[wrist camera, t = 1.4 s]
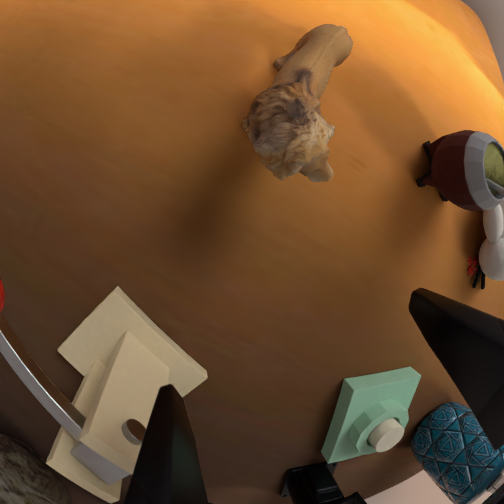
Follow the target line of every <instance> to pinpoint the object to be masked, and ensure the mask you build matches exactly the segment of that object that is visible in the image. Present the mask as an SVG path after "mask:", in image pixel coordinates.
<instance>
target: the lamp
mask: <svg viewBox="0 0 504 504" xmlns="http://www.w3.org/2000/svg"><path fill="white" fill-rule="evenodd" d="M411 449H412V452H413V454H414V456H415V458H416V459H417V461H418V462H419V463H420V465H421V466H422V467H423V469H424V470H425V471H426V472H427V474H428V475H429V476H430V477H431V479H432V480H433V481H434V482H435V483H436V485H437V486H438V487H439V488H440V489H441V490H442V492H443V493H444V494H445V495H446V496H447V497H448V498H449V499H450V500H451V501H452V502H453V503H454V504H471V503H473V502H474V501H476V500H477V499H478V498H479V497H480V496H482V495H483V494H484V493H485V492H489V491H490V492H491V493H492V494H493V493H494V492H495V491H496V490H497V489H498V488H499V487H500V486H501V485H502V484H503V483H504V477H503V476H504V474H503V473H504V445H503V446H502V447H500V448H499V449H498V450H496V451H495V450H494V449H493V447H492V445H491V444H490V442H489V440H488V438H487V436H486V435H485V433H484V431H483V429H482V428H481V426H480V424H479V422H478V421H477V419H476V417H475V415H474V414H473V412H472V410H471V409H470V408H468V407H466V406H464V405H463V404H460V403H458V402H447V403H444V404H442V405H440V406H438V407H437V408H435V409H434V410H433V411H432V412H431V413H429V414H428V415H427V416H426V417H425V419H424V420H423V421H422V422H421V423H420V424H419V426H418V427H417V429H416V430H415V432H414V434H413V436H412V439H411Z"/></svg>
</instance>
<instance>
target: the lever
mask: <svg viewBox="0 0 504 504" xmlns="http://www.w3.org/2000/svg"><path fill="white" fill-rule="evenodd" d="M4 301H5V293H4V287H3V284H2V281H1V279H0V352H1V353H2V355H3V356H4V358H5V359H6V360H7V362H8V363H9V365H10V366H11V367H12V369H13V370H14V371H15V373H16V374H17V375H18V377H19V378H20V379H21V380H22V382H23V383H24V384H25V385H26V387H27V388H28V389H29V390H30V391H31V393H32V394H33V395H34V396H35V397H36V399H37V400H38V401H39V402H40V403H41V404H42V405H43V406H44V408H45V409H46V410H47V411H48V412H49V413H50V414H51V415H52V416H53V417H54V418H55V419H56V420H57V421H58V422H59V424H60V425H61V426H62V427H63V428H64V429H65V430H66V431H68V432H69V433H70V434H71V435H72V436H73V437H74V438H75V439H76V440H77V442H76V443H75V444H74V446H73V447H72V449H71V450H70V454H72V455H73V456H74V457H75V458H76V459H77V460H78V461H80V462H81V463H82V464H83V465H84V466H85V467H87V468H88V469H89V470H90V471H91V472H93V473H94V474H95V475H96V476H98V477H99V478H100V479H102V480H103V481H104V482H106V483H107V484H108V485H110V484H112V483H114V482H116V481H118V480H120V479H122V478H124V477H126V476H128V475H130V473H128V472H127V471H125V470H123V469H122V468H120V467H118V466H117V465H115V464H114V463H112V462H110V461H109V460H107V459H106V458H104V457H103V456H101V455H100V454H98V453H97V452H95V451H94V450H92V449H91V448H89V447H88V446H87V445H85V444H84V443H82V442H81V441H80V440H79V438H80V435H81V432H82V429H83V426H84V424H85V421H86V418H85V417H84V416H83V415H82V414H81V413H80V412H79V411H78V410H77V409H76V408H75V407H74V406H73V404H72V403H71V402H70V401H69V400H68V399H67V398H66V397H65V396H64V395H63V394H62V393H61V392H60V390H59V389H58V388H57V387H56V386H55V385H54V384H53V382H52V381H51V380H50V379H49V378H48V377H47V375H46V374H45V373H44V372H43V371H42V369H41V368H40V367H39V366H38V364H37V363H36V362H35V361H34V359H33V358H32V357H31V355H30V354H29V353H28V351H27V350H26V349H25V347H24V346H23V345H22V343H21V342H20V340H19V339H18V337H17V336H16V335H15V333H14V332H13V330H12V329H11V327H10V326H9V324H8V323H7V321H6V320H5V318H4V316H3V315H2V313H1V312H2V310H3V307H4Z"/></svg>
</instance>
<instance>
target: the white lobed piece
mask: <svg viewBox="0 0 504 504" xmlns="http://www.w3.org/2000/svg"><path fill="white" fill-rule="evenodd" d="M483 224H484V230H485V234H486V236H487V239H486V240H485V241H484V242H483V243H482V245H481V248H480V251H479V263H480V264H479V267H478V270H477V269H475V268H474V266H475V264H476V263H477V262H478V260H477V261H476V262H475V263H474V261H475V259H476V256H475V258H474V261H472V259H471V257H470V256H469V258H470V260H471V262H472V263H474V265H473V269H474V270H477V273H476V276H475V278H474V281H473V284H472V287H473V288H475V287H476V285H477V282H478V279H479V277H480V274H481V289H484V288H485V275H486V276H487V277H489V278H490V279H493V280H497V281H500V280H504V200H503V201H502V202H501V203H500V204H499V205H498V206H496V207H495V208H493V209H488V210H483ZM467 261H468V262H469V263H470V264H471V265H470V267H469V268H468V269H467V270H469V269H470V270H469V272H468V276H469V273H470V271H471V275H473V269H472V268H471V266H472V263H471V262H470V261H469V260H467ZM481 271H482V273H481Z"/></svg>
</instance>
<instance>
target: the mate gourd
mask: <svg viewBox="0 0 504 504" xmlns="http://www.w3.org/2000/svg"><path fill="white" fill-rule="evenodd" d="M423 147H424V150H425V152H426V155H427V158H428V160H429V163H430V166H431V170H430V171H429V172H427V173H426V174H424V175H423V176H421V177H420V178H418V179H417V180H416V182H417V185H418V187H423V186H425V185H430V186H434V187H436V188H437V189H438V190H439V192H440V195H441V198H442V201H446V202H447V201H448V200H449V201H450V202H452V203H454V204H455V205H457V206H459V207H461V208H463V209H465V210H470V211H480V210H488V209H493V208H495V207H496V206H498V205H499V204H500V203H501V202H502V201H503V200H504V149H503V147H502V146H501V145H500V143H499V142H498V141H497V140H496V139H494V138H493V137H492V136H490V135H488V134H487V133H483V132H479V131H471V130H463V131H459V132H456V133H452V134H449V135H446V136H442V137H441V138H439V139H437V140H436V141H434V142H433V143H430V141H427V142H425V143H423Z"/></svg>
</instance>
